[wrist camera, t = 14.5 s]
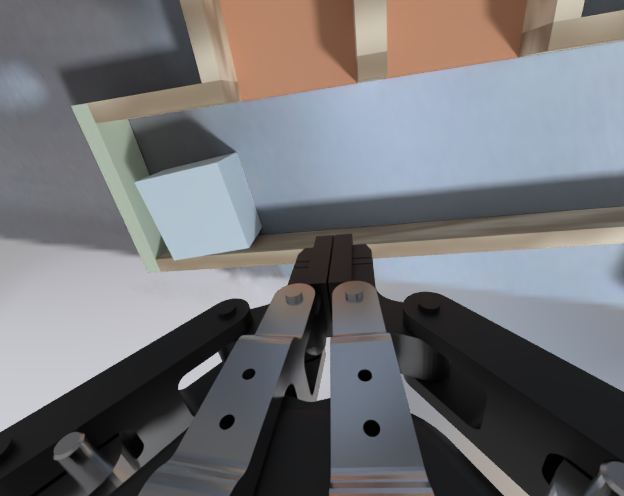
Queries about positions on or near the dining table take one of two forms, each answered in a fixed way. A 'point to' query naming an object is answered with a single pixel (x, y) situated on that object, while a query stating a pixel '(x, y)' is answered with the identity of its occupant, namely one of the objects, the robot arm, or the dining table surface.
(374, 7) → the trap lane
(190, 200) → the pale blue block
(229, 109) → the dining table surface
